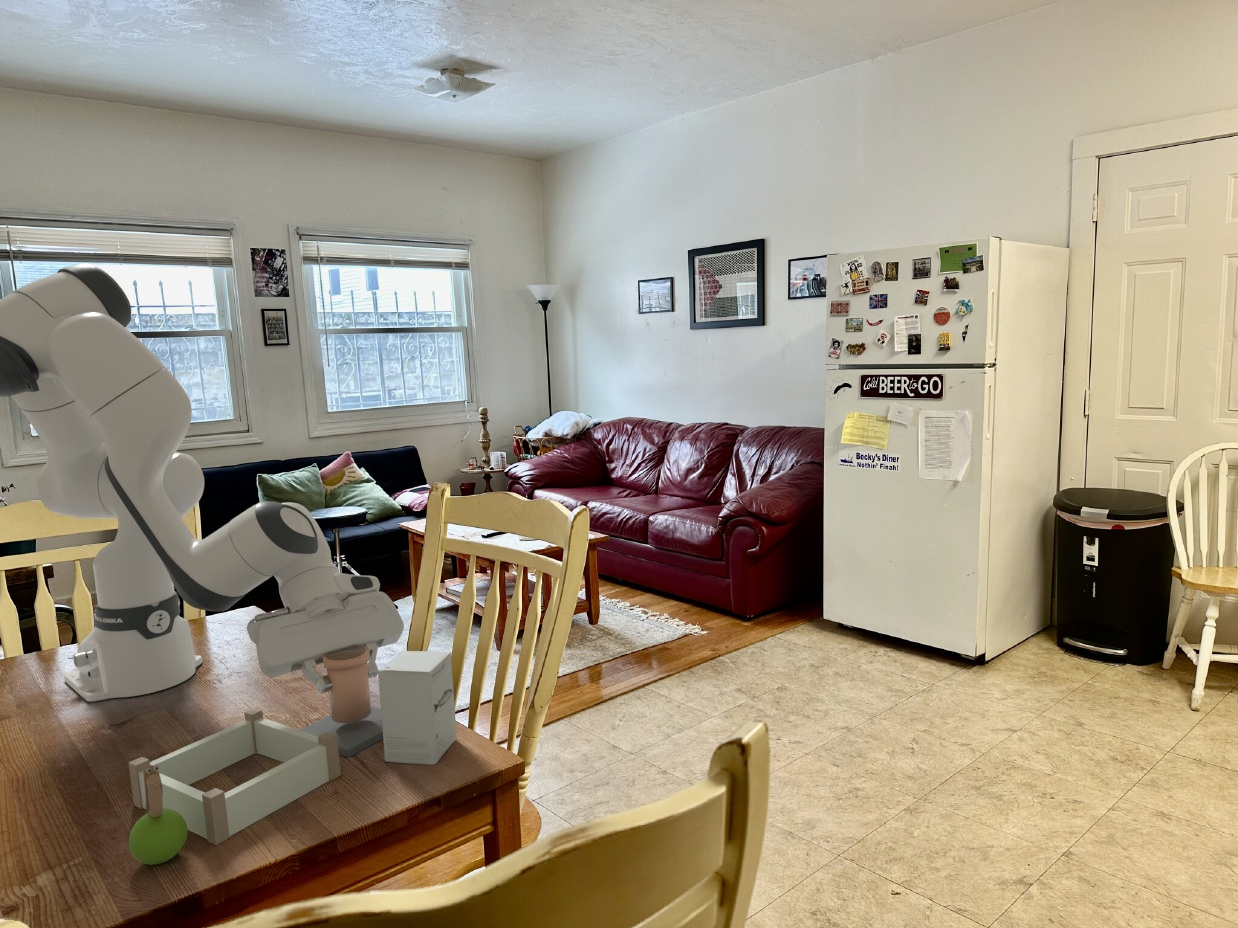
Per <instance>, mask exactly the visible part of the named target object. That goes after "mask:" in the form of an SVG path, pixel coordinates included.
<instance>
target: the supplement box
mask: <svg viewBox="0 0 1238 928" xmlns="http://www.w3.org/2000/svg"><path fill="white" fill-rule="evenodd" d="M452 662H453V661H452V652H450V651H426V650H425V651H423V650H420V651H419V650H417V651H416V650H403V651H401V652H400V653H398V654H397V655H396V656H395V657H394V658H392V659H391V660H390V661H389V662H387V663H386V664H385V665H384V666H383V667H381V668H380V669H378V670H379V671H378V675H377V677H378V687H379V688H378V689H379V701H380V703H379V704H380V709H381V716H382V729H383V739H382V740H383V752H384V761H385V762H388V763H399V764H400V763H401V764H413V765H417V764H418V765H429V766H431V765H432V766H433V765H434V766H435V765H437V763H438V762H439V760H440V759H441V757H443V755H444V754H445V752H446V751H447V750H448V749H449V748H450V747H451V746H452V745H453V743H454V742H455V741H456V740H457V738H458V737H457V723H456V707H455V692H454V691H455V690H454V680H453V679H454V678H453V663H452Z"/></svg>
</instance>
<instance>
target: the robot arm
mask: <svg viewBox="0 0 1238 928" xmlns="http://www.w3.org/2000/svg"><path fill="white" fill-rule="evenodd" d="M127 296H128V295H126V293H125V292H124V290H123V289H122V287H121V286H120V285H119V283H118V282H117V281H116V280H115V279H114V278H113V277H112V276H111V275H110V274H109V273H107V272H106V271H105V270H104V269H102V268H99V267H98V266H94V265H92V264H89V263H78V264H73V265H70V266H67V267H63V268H60V269H59V270H58V271H57V273H53V274H50V275H47V276H45V277H43V278H39V279H37V280H34V281H31V282H30V283H28V284H25V285H23V286H21V287H18V288H16V289H14V290H12V291H11V293H9V294H7V295H6V296H4V297H2V298H0V397H1V398H2V397H11V398H12V399H13V401H14V402H15V403H16V405H17V406H18V408H19V409H20V411H21V412H22V413H23V415H24V416H25V417H26V419H27V420H28V422H29V423H30V424H31V426H32V427H33V430H35V432H36V434H37V436H38V437H39V438H40V440H41V441H42V443H43V445H44V447H45V450H46V453H47V462H46V463H45V464H44V466H43V467H42V468H41V469H40V472H39V474H38V478H37V482H36V483H37V484H36V485H37V486H36V487H37V493H38V497H39V499H40V501H41V503H42V504H43V506H44V507H45V508H46V509H47V510H48V511H50V512H51V513H53V514H56V515H60V516H61V515H62V516H65V517H71V518H77V519H84V520H86V519H89V520H90V519H92V520H93V519H95V520H96V519H117V523H118V525H117V526H118V527H117V531H116V536H115V539H114V540H113V541H111V542H110V543H107V545H105V546H104V547H102V548H101V549H100V550H99V551H98V552H97V553H96V555H95V556H94V559H93V563H92V569H93V576H94V577H93V578H94V585H95V592H96V599H97V604H94V605H93V606H92V607H93V608H95V609H94V610H93V612H94V613H93V618H94V621H93V626H94V628H92V630H91V631H90V632H89V634H88V635H87V636H86V637H85V638H84V639H83V640H82V641H81V642H80V643H79V645H78V648H77V653H75V654H73V656H72V657H73V658H72V659H73V663H74V666H75V669H72V670H71V671H69V672H67V673H66V674H64V682H65V683H67V685H68V686H70V687H71V688H72V689H73V690H74V691H75V692H76V693H78V694H79V695H80V697H82V698H83V699H84V700H85V701H86V702H98V701H104V700H108V699H115V698H116V699H117V698H118V699H119V698H129V697H135V696H142V695H143V696H144V695H148V694H151V693H155V692H160V691H162V690H166V689H169V688H172V687H174V686H176V685H179V684H181V683H183V682H185V681H187V680H188V679H190V678H191V677H192V676H193V675H194V674H195V672H196V669H197V667H198V666H200V665H201V664H202V663H203V658H202V656H201V655H198V654H197V655H196V654H195V649H194V644H193V640H192V635H191V630H190V626H189V621H188V620H187V619H185V618H183V617H181V616H180V613H181V608H180V605H181V602H180V598H179V596H180V597H181V599H182V600H183V601H184V602H185V603H186V604H187V605H189V606H190V607H192V608H194V609H198V610H203V611H207V612H208V611H209V612H225V611H228V610H230V609H231V607H233V606H234V605H235V604H237V603H238V601H240V600H241V599H242V598H244V597H245V596H246V595H247V594H248V593H249V592H251V591H252V590H253V589H255V588H256V587H258V586H259V585H261V584H262V583H264V582H265V581H267V580H269V579H270V578H272V577H273V576H274V578H275V579H276V581H277V583H278V591H279V595H280V599H281V601H282V603H283V606H284V607H283V608H279V609H276V610H273V611H270V612H266V613H265V612H262V613H259V614H256V615H254V618H252V619H250V620H249V622H248V623H247V625H246V631H247V634H248V636H249V639H250V641H251V642H252V643H253V644H255V646H256V655H257V659H258V664H259V668H260V671H261V673H262V674H263V675H264V676H266V677H267V678H270V679H273V678H276V677H280V676H283V675H287V674H290V673H294V672H297V671H300V670H301V672H302V674H303V677H305V678H306V679H308V680H309V681H310V682H312V683H313V684H315V685H316V687H317V690H318V692H319V694H321V695H322V694H325V693H329V691H330V690H331V688H332V687H333V685H332V681H330V677H329V675H327V674H326V675H322V674H321V673H320V671H318V670H316V666H319V665H323V658H322V656H323V655H325V654H327V653H328V652H332V651H335V650H339V649H343V648H346V647H350V646H353V645H361V646H365V647H367V648H369V654H370V660H369V661H368V662H367V665H368V676H369V679H373V678H376V677H378V671H379V670H380V669H379V668H378V666H377V663H376V661H377V654H378V649H379V648H381V647H386V646H389V645H392V644H393V645H394V644H395V643H398V642H399V640H400V638H401V636H402V634H403V632H404V628H405V623H404V621H403V619H402V617H401V615H400V613H399V610H398V609H397V608H396V606H395V603H394V602H393V600H392V599H391V598H390V597H389V595H388V594H387V593H385V592H384V591H380V587H381V583H380V580H379V579H378V577H376V576H373V575H361V574H360V575H359V574H348V573H342V572H340V569H339V568H338V566H336V565H335V564H334V562H333V560H332V555H331V554H332V553H331V549H330V546H329V543H328V541H327V540H326V539H327V538H326V537H325V535H324V533H323V531H322V529H321V528H320V526H319V524H318V522H317V521H316V519H315V518H314V516H313V515H312V514H311V512H310V511H309V510H308V509H307V508H306V507H305V506H303V505H302V504H301V503H297V502H291V501H290V502H289V501H288V502H281V503H280V502H276V501H271V500H270V501H269V500H268V501H267V500H266V501H264V500H262V501H260V502H258V503H256V504H253V505H252V506H251V507H248V508H247V509H246V510H244V511H243V512H241V513H240V514H238V515H237V516H235V517H234V518H232V519H230V521H229V522H227V523H226V524H224V525H223V526H221V527H220V528H218V529H217V530H216V531H214V532H213V533H211V534H209V535H208V536H206V537H205V538H203V539H199V538H196V537H195V536H194V534H193V533H192V532H191V530H190V528H189V527H188V526H187V524H186V522H185V521H184V520H183V518H184V517H185V516H186V515H187V514H188V513H189V512H190V511H192V509H194V508H195V507H196V506H197V504H198V503H199V502H200V500H201V498H202V496H203V493H204V489H205V476H204V473H203V470H202V467H201V465H200V464H199V463H198V461H197V460H196V459H195V458H194V457H193V456H192V455H190V454H187V453H182V452H177V451H178V449H179V447H181V445H182V443H183V441H184V440H185V438H186V436H187V434H188V431H189V429H190V426H191V422H192V418H193V417H192V416H193V413H192V411H193V410H192V409H193V408H192V403H191V399H190V398H189V396H188V394H187V392H186V391H185V389H184V387H183V386H182V385H181V383H180V382H179V381H178V380H177V378H175V376H174V375H173V374H172V372H171V371H170V370H169V369H168V368H166V366H165V365H164V363H163V362H162V361H161V360H160V358H158V357H157V356H156V355H155V354H154V353H153V352H152V351H151V350H150V349H149V348H148V347H147V345H145V344H144V343H143V342H142V341H141V340H140V339H139V338H138V337H137V336H136V335H135V334H133V333H132V332H131V331H130V330H129V329H127V327H128V325H129V324H130V323H131V320H132V306H131V302H130V300H129V298H128V297H127ZM175 589H176V591H175Z"/></svg>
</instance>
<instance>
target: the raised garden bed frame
mask: <svg viewBox="0 0 1238 928" xmlns="http://www.w3.org/2000/svg"><path fill="white" fill-rule="evenodd" d="M243 714H244V720H242V721H239V722H238V723H236V724H233V725H231V726H229V727H226V728H224V729H222V730H220V731H218V732H217V731H216V732H215V733H213V734H210V735H208V736H206V737H204V738H201V739H200V740H198V741H195V742H193V743H189V744H188V745H186V746H183V747H181V748H179V749H176V750H174V751H172V752H170V753H168V754H165V755H163V756H160V757H159V758H156V759H154V760H151V761H150V759H148V758H146V757H144V756H140V757H138V758H136V759H134V760H131V761H128V769H129V776H130V785H131V786H130V787H131V791H132V799H133V805H134V807H137V808H138V809H141V810H142V809H144V810H146V808H145V806H146V795H145V785H144V776H143V771H144V769H145V768H146V767H147V766H149V765H153V766H156V765H157V766H159V769H158V770H157V771H158V772H159V774H160V778H161V782H162V788H163V809H171V810H174V811H176V812H178V813H179V814H180V815H181V816H182V817H183V818H184V820H185V822H186V825H187V831H189V832H192V833H194V834H196V835H198V836H200V837H202V838H204V839H206V840H207V842H208V843H211V844H213V845H215V846H217V845H220V844H221V843H223V842H224V841H227V840H229V838H230V837H231V836H234V835H235V834H237V833H238V832H240V831H241V830H244V829H246V828H247V827H250V826H252V824H255V823H257V822H258V821H260V820H261V819H263V818H265V817H268V815H270V814H272V813H274V812H276V811H277V810H280V809H282V808H283V807H284V806H286V805H288V804H290V803H292V802H293V801H295V800H297V799H299V798H301V797H302V796H305V795H306V794H308V793H310V792H312V791H313V790H315V789H316V788H318V787H320V786H322V785H324V784H325V783H327V782H331V781H333V780H334V779H336V778H338V777H340V776H341V774H342V773H341V766H340V764H341V763H340V754H339V752H338V741H337V734H335V733H332V732H329V731H328V732H326V733H324V734H322V735H320V736H316V735H313V734H310V733H306V732H303V731H300V730H301V729H297V728H294V727H290V726H288V725H285V724H282V723H279V722H276V721H273V720H269V719H268V718H267V719H266V718H264V715H263V709H259V708H257V707H254V708H251V709H249V710H247V711H245V712H244V713H243ZM255 754H260V755H263V756H265V757H268V758H270V759H273V760H276V761H279V762H281V764H278V765H276V766H275V767H273V768H271V769H270V770H268V771H265V772H263V773H262V774H261V773H260V774H259V775H257V776H256V777H253V778H252V779H249V780H248V781H246V782H244V783H242V784H239V785H237V786H235V787H234V788H232V789H230V790H228V791H226V792H225V791H223V790H221V789H219V788H217V787H214V788H212V789H211V790H208V791H206V792H204V791H202V790H199V789H197V788H196V787H193V786H191V785H192V784H194V783H196V782H198V781H200V780H202V779H204V778H206V777H209V776H210V775H212V774H214V773H217V772H219V771H221V770H224V769H225V768H227V767H229V766H232V765H233V764H235V763H238V762H240V761H241V760H244V759H246V758H247V757H249V756H252V755H255Z"/></svg>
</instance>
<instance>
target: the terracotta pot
mask: <svg viewBox="0 0 1238 928" xmlns="http://www.w3.org/2000/svg"><path fill="white" fill-rule="evenodd" d="M322 658H323V663H322V666H323V668H325V669H326V675H329V677H330V681H332V685H333V687H332V688H331V690H330V691H328V696H329V706H330V715H331V718H332V720H333V721H334V722H338V723H351V722H356V721H359V720H362V719H364V718H366V717H368V716H369V715H370V714H371V712H372V710H371V706H372V701H371V699H372V698H371V689H370V678H369V676H368V665H367V663H368V661H369V660H370V654H369V648H367V647H365V646H361V645H353V646H350V647H346V648H343V649H339V650H335V651H332V652H328V653H327V654H325V655H323V656H322Z"/></svg>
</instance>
